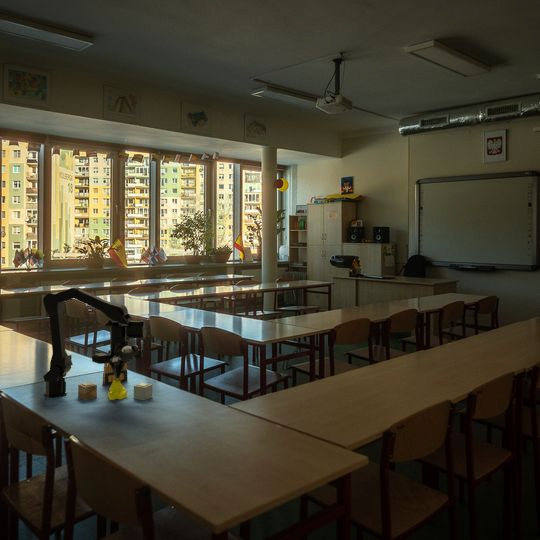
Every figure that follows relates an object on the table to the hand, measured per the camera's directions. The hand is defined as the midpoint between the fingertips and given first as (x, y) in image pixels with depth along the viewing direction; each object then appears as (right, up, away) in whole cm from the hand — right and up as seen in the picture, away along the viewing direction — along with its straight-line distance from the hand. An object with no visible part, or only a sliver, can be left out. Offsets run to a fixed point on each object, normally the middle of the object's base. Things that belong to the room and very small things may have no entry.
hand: (117, 377), depth 203 cm
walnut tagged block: (-11, -7, -1) cm, 13 cm away
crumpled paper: (0, -8, +1) cm, 8 cm away
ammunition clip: (-7, -7, +20) cm, 22 cm away
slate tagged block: (+10, -8, +1) cm, 12 cm away
